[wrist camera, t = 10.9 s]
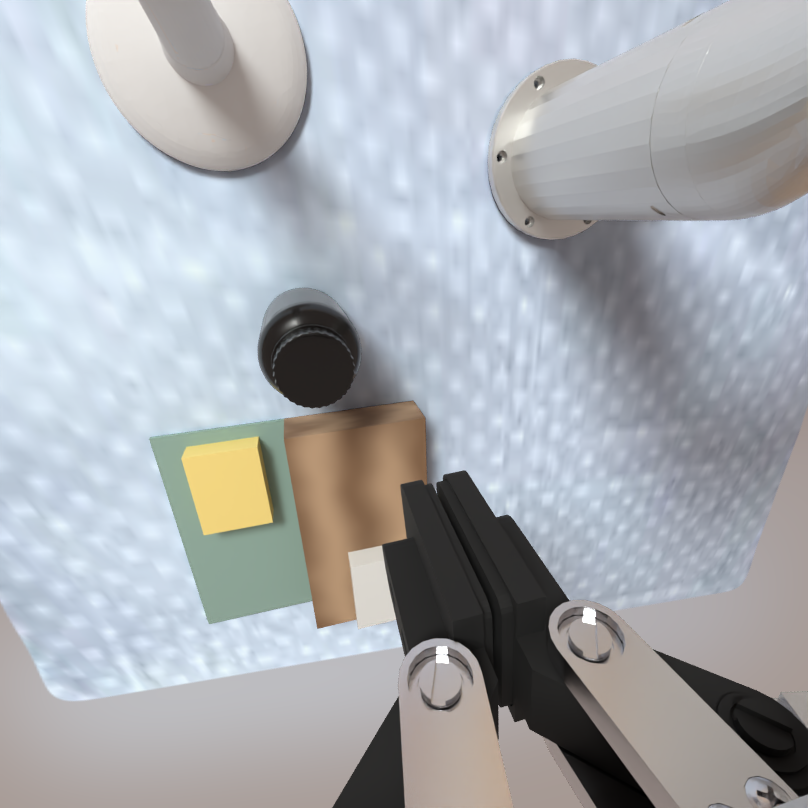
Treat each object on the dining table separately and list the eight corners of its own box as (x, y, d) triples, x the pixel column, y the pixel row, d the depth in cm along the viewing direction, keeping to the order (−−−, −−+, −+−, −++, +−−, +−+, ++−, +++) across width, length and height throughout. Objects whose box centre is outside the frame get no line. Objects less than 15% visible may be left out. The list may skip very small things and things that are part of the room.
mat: (295, 417, 39) (295, 418, 38) (324, 595, 48) (324, 598, 47) (150, 437, 36) (149, 438, 36) (209, 621, 45) (208, 624, 45)
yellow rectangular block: (181, 458, 35) (186, 446, 37) (203, 535, 38) (207, 521, 40) (257, 447, 36) (258, 436, 38) (272, 522, 40) (273, 509, 41)
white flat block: (408, 539, 42) (414, 554, 40) (411, 599, 45) (416, 614, 44) (348, 552, 41) (350, 567, 39) (355, 612, 44) (358, 628, 42)
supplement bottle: (340, 370, 38) (361, 430, 27) (259, 361, 36) (247, 421, 25) (352, 292, 36) (380, 324, 25) (266, 278, 34) (256, 305, 23)
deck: (413, 400, 41) (425, 418, 37) (419, 574, 50) (429, 601, 46) (284, 418, 38) (283, 439, 35) (315, 597, 47) (317, 628, 44)
